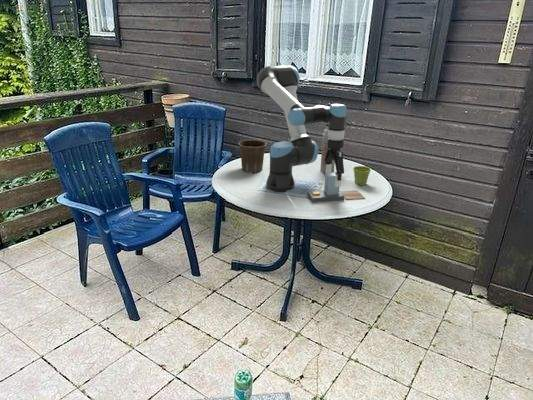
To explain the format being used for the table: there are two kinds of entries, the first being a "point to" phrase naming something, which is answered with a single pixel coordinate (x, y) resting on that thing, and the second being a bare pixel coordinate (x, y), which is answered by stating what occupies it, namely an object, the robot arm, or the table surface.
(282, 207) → the table surface
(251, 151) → the plant pot
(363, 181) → the plant pot
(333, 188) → the light blue tall block
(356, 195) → the walnut board
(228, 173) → the table surface
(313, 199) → the dark grey holder
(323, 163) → the thermos bottle
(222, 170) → the table surface
